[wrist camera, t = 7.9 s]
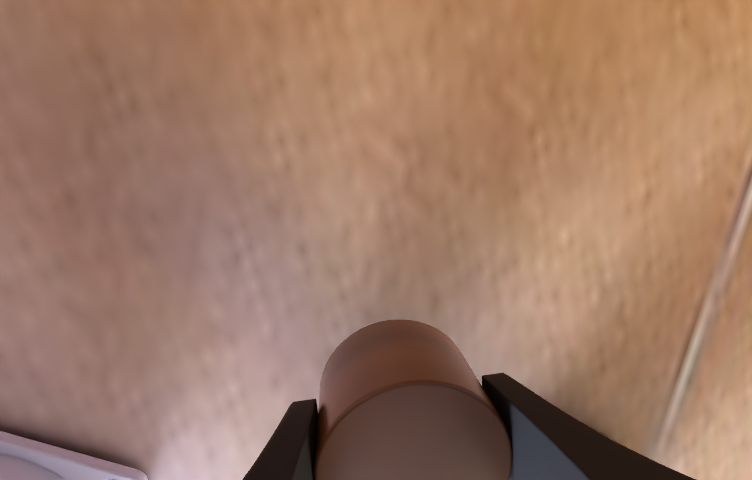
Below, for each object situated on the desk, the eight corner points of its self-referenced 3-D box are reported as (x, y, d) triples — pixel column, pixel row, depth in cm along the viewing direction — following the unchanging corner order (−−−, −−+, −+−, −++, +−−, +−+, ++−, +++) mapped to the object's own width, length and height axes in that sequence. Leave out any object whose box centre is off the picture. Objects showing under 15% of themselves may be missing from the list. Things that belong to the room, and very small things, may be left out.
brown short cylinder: (296, 425, 12) (281, 524, 8) (357, 295, 11) (365, 352, 8) (427, 467, 12) (457, 572, 9) (493, 349, 12) (549, 420, 9)
